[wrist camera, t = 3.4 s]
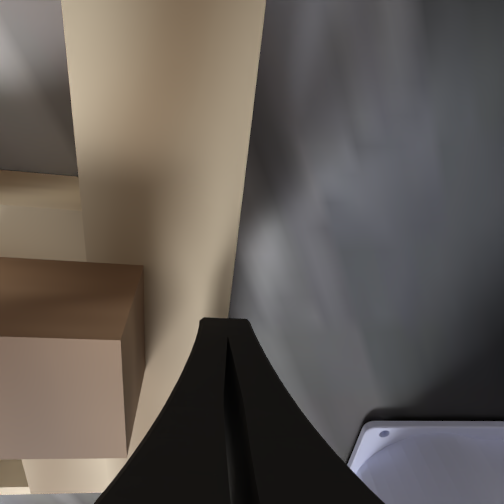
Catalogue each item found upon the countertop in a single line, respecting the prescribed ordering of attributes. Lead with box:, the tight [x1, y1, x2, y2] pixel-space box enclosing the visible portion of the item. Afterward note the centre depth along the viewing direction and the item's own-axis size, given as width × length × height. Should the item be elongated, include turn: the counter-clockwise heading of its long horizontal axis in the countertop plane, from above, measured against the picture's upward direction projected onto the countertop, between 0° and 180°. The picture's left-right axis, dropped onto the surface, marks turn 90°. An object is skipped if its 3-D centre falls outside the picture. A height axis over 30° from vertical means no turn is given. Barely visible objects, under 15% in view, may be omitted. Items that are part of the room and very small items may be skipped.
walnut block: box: [0, 257, 145, 460], centre depth 10 cm, size 4×4×3 cm
